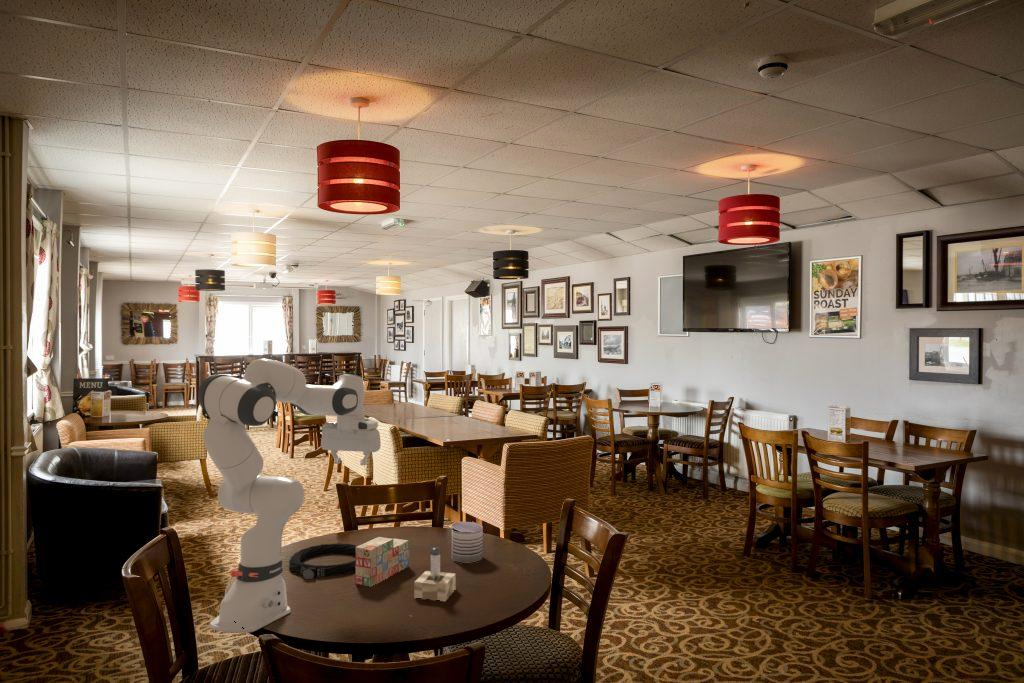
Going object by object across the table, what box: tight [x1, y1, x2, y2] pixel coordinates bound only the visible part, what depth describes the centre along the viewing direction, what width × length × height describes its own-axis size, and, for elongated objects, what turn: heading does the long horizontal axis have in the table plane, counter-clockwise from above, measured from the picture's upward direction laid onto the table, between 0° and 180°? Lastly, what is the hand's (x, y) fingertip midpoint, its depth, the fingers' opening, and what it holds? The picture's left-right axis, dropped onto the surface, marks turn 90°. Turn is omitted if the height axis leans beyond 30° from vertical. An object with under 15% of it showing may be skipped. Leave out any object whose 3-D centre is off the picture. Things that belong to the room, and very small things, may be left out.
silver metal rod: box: [429, 546, 442, 581], centre depth 206 cm, size 3×3×14 cm
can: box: [451, 521, 484, 563], centre depth 239 cm, size 11×11×12 cm
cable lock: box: [288, 542, 358, 580], centre depth 232 cm, size 28×4×30 cm
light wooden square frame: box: [413, 570, 457, 602], centre depth 206 cm, size 10×10×5 cm
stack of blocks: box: [354, 536, 410, 588], centre depth 222 cm, size 21×6×12 cm, turn 154°
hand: (350, 464), depth 221 cm, fingers open, 8 cm apart
